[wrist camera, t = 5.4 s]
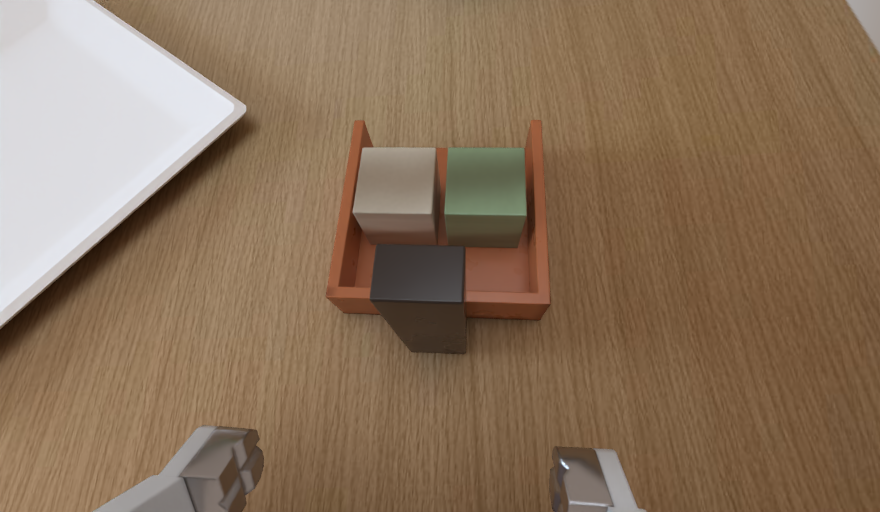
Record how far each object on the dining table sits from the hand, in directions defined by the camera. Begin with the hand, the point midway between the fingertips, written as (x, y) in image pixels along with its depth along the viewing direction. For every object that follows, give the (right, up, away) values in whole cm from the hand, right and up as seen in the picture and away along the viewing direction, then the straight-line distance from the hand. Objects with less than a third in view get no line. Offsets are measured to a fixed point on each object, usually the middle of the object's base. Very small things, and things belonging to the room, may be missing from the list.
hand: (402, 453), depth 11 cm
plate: (-30, +12, +18) cm, 37 cm away
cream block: (-1, +8, +13) cm, 16 cm away
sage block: (+4, +8, +13) cm, 16 cm away
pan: (+1, +7, +14) cm, 15 cm away
